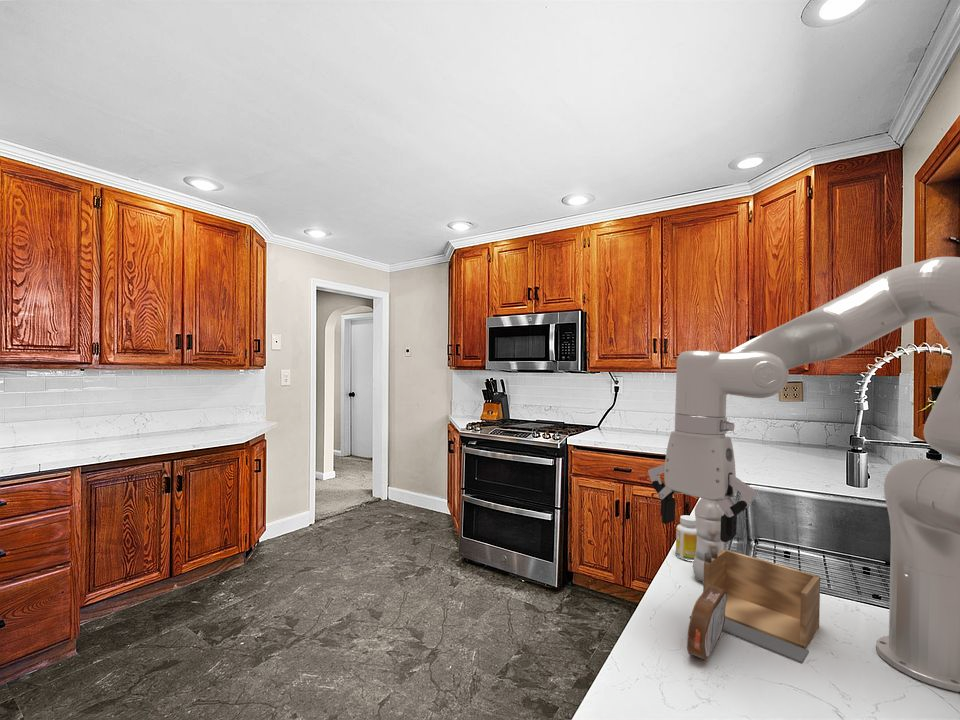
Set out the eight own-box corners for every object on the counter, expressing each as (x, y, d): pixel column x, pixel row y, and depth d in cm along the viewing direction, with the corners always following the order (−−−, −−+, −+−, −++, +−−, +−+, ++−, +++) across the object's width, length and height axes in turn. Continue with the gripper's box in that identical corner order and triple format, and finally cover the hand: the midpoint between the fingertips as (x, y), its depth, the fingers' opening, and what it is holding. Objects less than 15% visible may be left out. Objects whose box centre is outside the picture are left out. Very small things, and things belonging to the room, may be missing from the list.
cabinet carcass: (819, 627, 82) (820, 568, 82) (805, 650, 75) (806, 585, 75) (721, 593, 94) (722, 541, 94) (701, 610, 87) (703, 554, 87)
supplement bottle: (671, 555, 112) (672, 515, 112) (684, 551, 115) (685, 512, 115) (691, 564, 108) (692, 522, 108) (705, 559, 111) (706, 519, 111)
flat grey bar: (808, 652, 75) (808, 650, 75) (802, 663, 72) (802, 661, 72) (699, 609, 87) (699, 608, 87) (689, 618, 84) (689, 616, 84)
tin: (709, 623, 82) (710, 575, 82) (729, 630, 80) (730, 581, 80) (684, 663, 71) (685, 607, 71) (706, 672, 69) (708, 615, 69)
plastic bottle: (686, 580, 99) (689, 486, 100) (700, 571, 104) (702, 481, 104) (718, 591, 95) (721, 492, 95) (731, 582, 99) (733, 487, 99)
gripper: (766, 431, 72) (763, 543, 72) (662, 419, 85) (659, 512, 85) (746, 434, 67) (743, 553, 67) (639, 420, 81) (636, 520, 80)
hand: (696, 530), depth 76 cm, fingers open, 9 cm apart
